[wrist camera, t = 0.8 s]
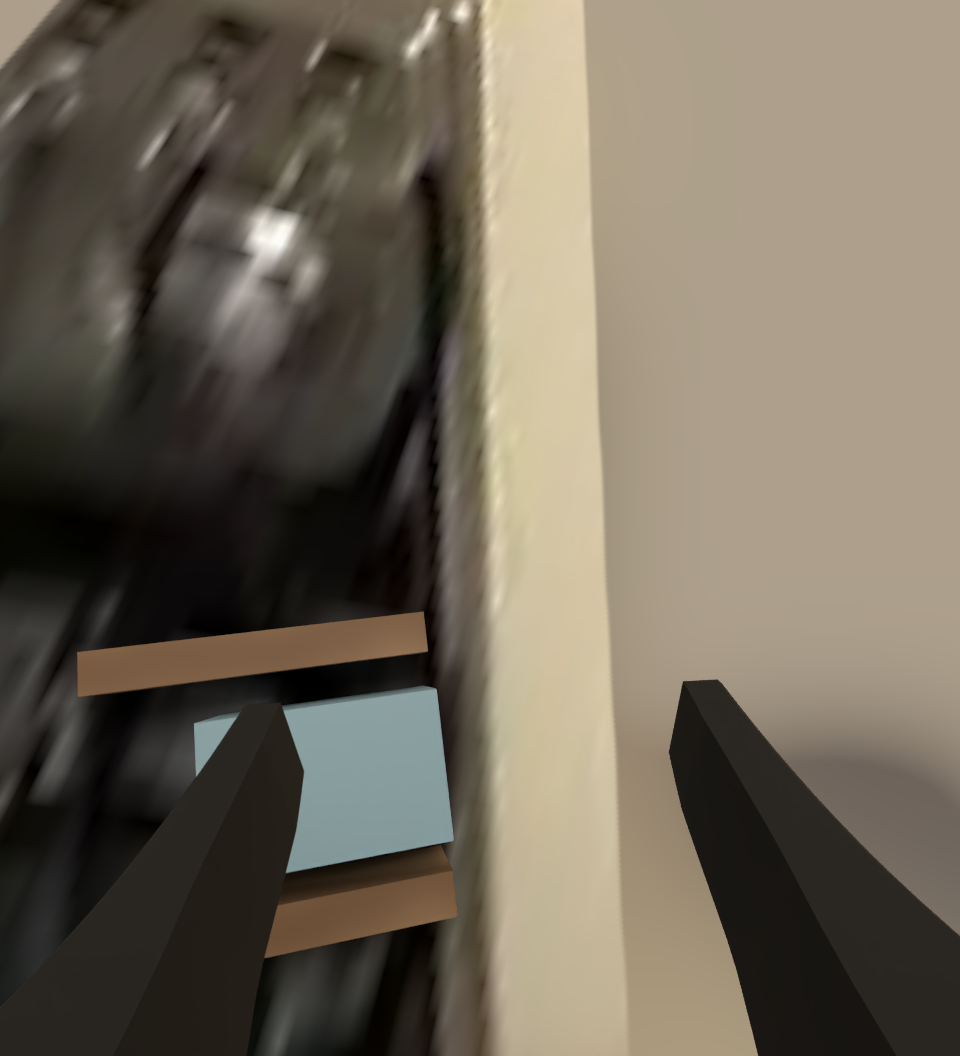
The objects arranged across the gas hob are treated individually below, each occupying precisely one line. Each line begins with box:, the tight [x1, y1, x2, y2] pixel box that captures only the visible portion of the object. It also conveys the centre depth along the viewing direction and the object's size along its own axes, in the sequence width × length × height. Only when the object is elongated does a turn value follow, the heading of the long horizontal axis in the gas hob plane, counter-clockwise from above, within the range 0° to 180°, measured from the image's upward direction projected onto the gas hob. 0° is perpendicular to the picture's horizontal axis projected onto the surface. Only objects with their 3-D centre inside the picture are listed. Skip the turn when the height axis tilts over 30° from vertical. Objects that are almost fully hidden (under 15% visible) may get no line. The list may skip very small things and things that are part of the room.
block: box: [194, 686, 454, 873], centre depth 24 cm, size 5×8×5 cm, turn 97°
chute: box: [78, 612, 458, 958], centre depth 24 cm, size 11×12×4 cm
